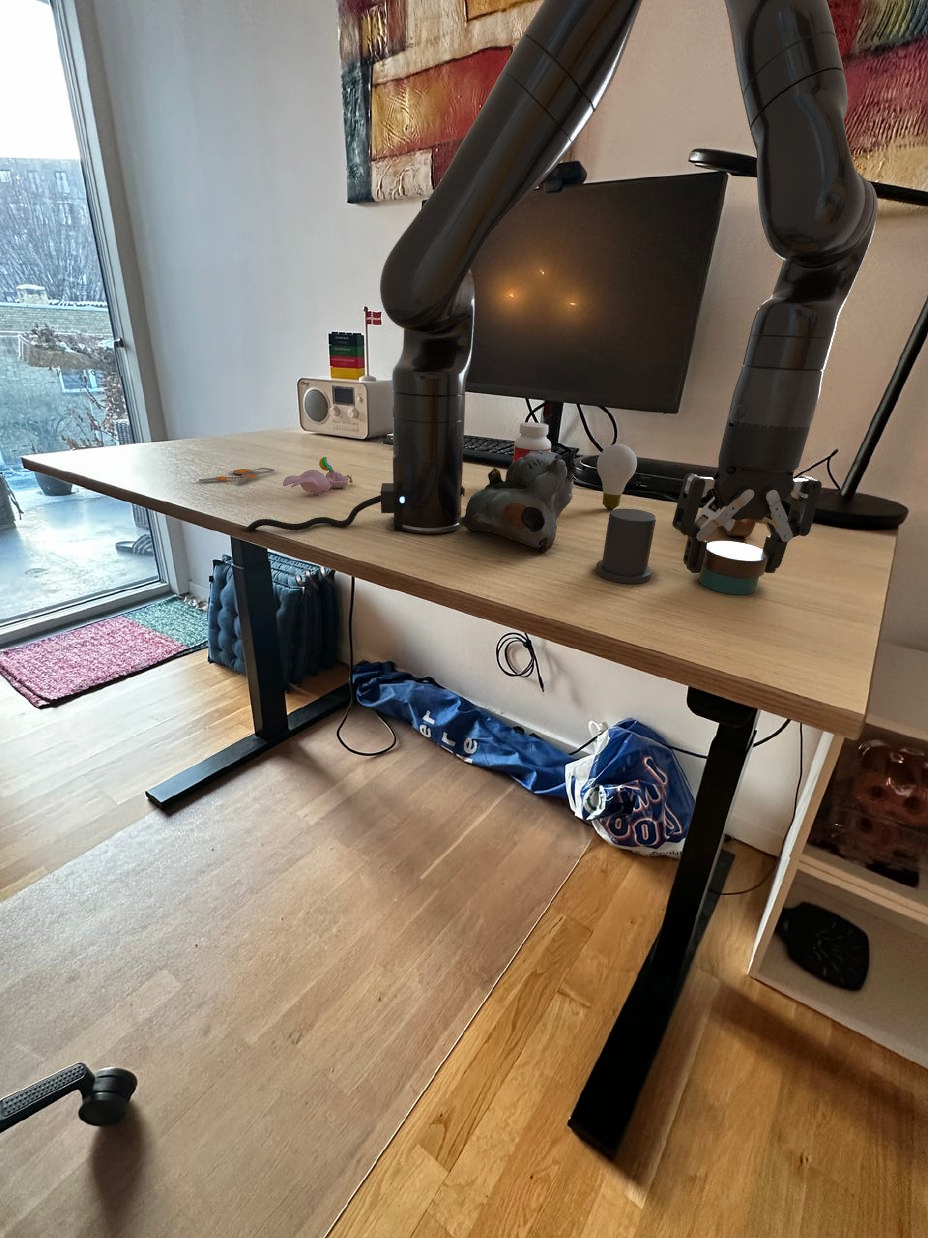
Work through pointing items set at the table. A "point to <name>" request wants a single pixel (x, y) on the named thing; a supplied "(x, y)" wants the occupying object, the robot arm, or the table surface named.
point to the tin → (739, 526)
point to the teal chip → (727, 583)
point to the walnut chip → (735, 559)
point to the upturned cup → (627, 546)
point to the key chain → (244, 477)
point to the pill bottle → (531, 439)
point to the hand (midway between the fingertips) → (729, 570)
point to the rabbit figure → (319, 479)
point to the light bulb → (615, 472)
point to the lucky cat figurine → (524, 499)
